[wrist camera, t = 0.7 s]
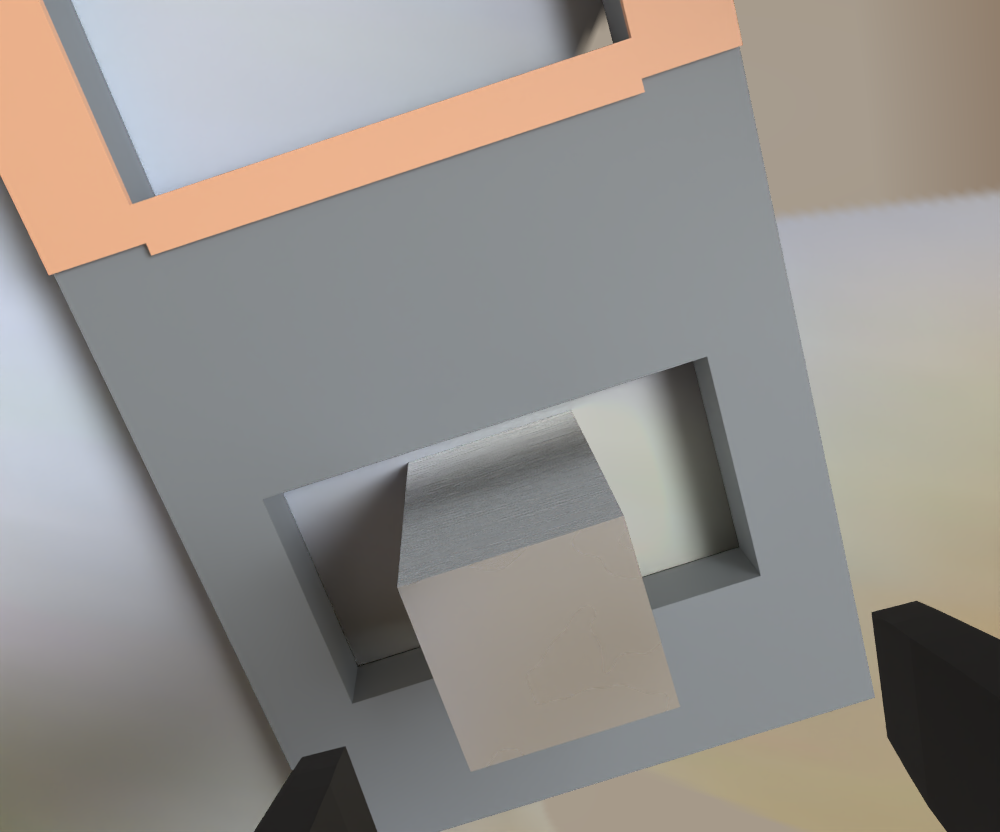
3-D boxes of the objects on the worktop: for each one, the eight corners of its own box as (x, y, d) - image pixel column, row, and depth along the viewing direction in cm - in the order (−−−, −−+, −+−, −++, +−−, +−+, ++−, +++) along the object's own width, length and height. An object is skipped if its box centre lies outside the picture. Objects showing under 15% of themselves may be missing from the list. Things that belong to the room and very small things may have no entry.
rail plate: (342, 818, 23) (335, 869, 22) (-186, -311, 15) (-261, -365, 14) (847, 662, 23) (878, 702, 21) (577, -583, 15) (594, -671, 13)
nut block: (461, 605, 22) (470, 771, 16) (408, 462, 20) (396, 587, 15) (615, 556, 21) (680, 707, 16) (571, 409, 20) (624, 515, 15)
